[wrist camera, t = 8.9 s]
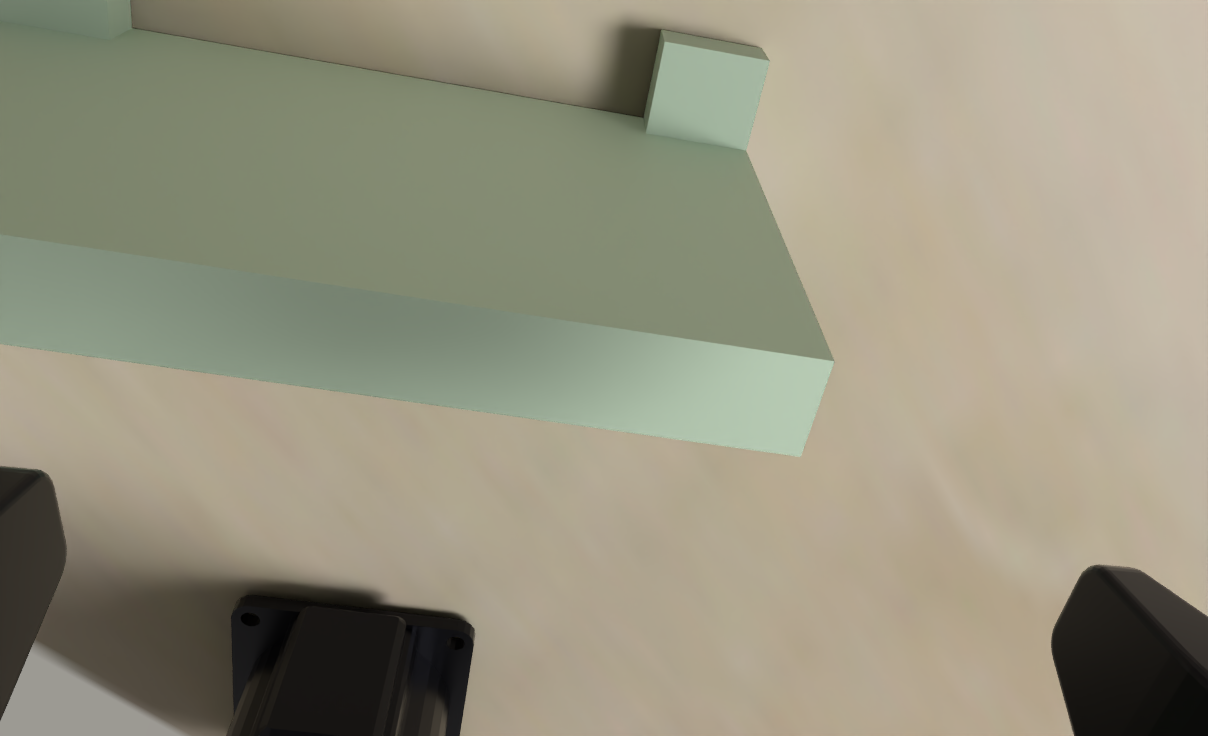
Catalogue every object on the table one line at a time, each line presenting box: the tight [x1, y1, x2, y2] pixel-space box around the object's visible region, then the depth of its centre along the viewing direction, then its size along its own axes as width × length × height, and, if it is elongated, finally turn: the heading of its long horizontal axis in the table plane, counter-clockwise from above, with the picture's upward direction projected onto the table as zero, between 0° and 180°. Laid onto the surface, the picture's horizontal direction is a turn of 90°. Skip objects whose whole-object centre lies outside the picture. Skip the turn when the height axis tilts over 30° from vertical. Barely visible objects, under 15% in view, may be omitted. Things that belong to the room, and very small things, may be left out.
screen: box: [0, 0, 834, 457], centre depth 16 cm, size 5×14×9 cm, turn 80°
